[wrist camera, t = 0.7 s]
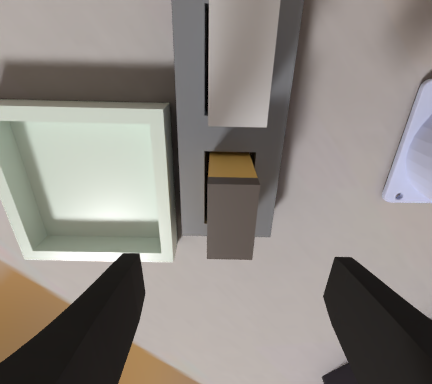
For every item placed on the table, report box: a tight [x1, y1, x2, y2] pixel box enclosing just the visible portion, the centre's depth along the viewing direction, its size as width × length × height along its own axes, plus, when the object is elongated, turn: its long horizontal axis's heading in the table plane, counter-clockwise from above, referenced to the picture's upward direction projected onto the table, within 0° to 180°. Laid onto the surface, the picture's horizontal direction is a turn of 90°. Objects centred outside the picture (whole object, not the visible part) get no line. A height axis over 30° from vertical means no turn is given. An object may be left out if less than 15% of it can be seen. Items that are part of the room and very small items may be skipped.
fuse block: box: [171, 0, 304, 237], centre depth 16 cm, size 6×14×2 cm, turn 179°
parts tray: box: [0, 99, 178, 262], centre depth 17 cm, size 11×11×2 cm
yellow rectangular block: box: [207, 151, 260, 260], centre depth 16 cm, size 2×4×6 cm, turn 179°
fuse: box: [208, 0, 281, 128], centre depth 12 cm, size 2×4×6 cm, turn 179°
